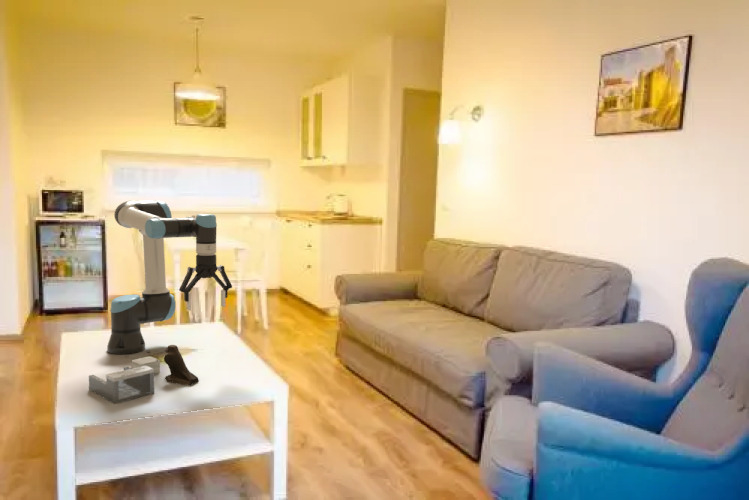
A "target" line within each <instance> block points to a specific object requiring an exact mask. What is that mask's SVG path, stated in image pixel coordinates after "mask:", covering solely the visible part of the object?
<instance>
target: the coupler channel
mask: <svg viewBox="0 0 749 500" xmlns="http://www.w3.org/2000/svg"><path fill="white" fill-rule="evenodd" d="M105 378H106V380H104V379H103V378H100V377H99V376H96V374H95V375H94V374H91V375H88V390H89V391H91V392H93V393H94V394H97V395H98V396H100V397H102V398H103V397H104V398H103V399H105V400H107V401H109V402H110V401H111V402H110V403H113V404H114V405H115V404H119V403H123V402H127V401H130V400H134V399H137V398H140V397H145V396H149V395H153V394H155V374H154V369H153V368H151V367H148V366H146V365H145V366H141V367H137V368H132V367H129V366H126V367H123V370H119V371H115V372H112V373H106V375H105Z"/></svg>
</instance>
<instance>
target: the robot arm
mask: <svg viewBox="0 0 749 500" xmlns="http://www.w3.org/2000/svg"><path fill="white" fill-rule="evenodd" d="M113 215H114V220H115V222H116V223H117V224H118V225H119V226H122V227H123V228H126V229H132V228H134V229H136V230H138V232H139V233H140V235H142V245H143V263H144V264H143V265H144V284H145V289H144V290H143V291H142V292H141V296H140V295H139V294H125V295H121V296H117V297H115V298H114V299H113V300H111V303H110V322H111V323H110V326H111V327H110V330H111V334H110V336H109V339H108V342H107V348H106V351H107V352H108V353H109V354H114V355H129V354H136V353H140V352H142V351H144V350H145V349H146V342H145V340H144V336H143V334H142V332H141V331H142V330H141V325H142V324H150V323H155V322H164V321H168V320H171V318H172V317H173V316H174V314H175V313H176V312H175V311H176V305H177V303H176V299H175V296H174V295H173V294H171V291H170V289H168V288H167V284H166V283H167V282H166V263H165V262H166V260H165V259H166V258H165V240H164V239H167V238H168V239H169V238H195V253H196V256H195V267H191V266H188V267H187V270H186V271H187V272H186V274H185V276H184V279H183V281H182V283H181V285H180V287H179V292H181V293H183V294H184V297H183V298H184V299H183V301H184V302H186V310H188V311H192V293H191V291H192V289H193V288H194V287H195V285H197V283H198V281H200V280H201V279H211V278H213V279H214V280H215V281H216V282H217V284H219V286H220V287H221V288H222V289H220V306H221V307H223V308H225V307H226V299H227V298H228V291H229V290H230V289H232V288H233V285H232V283H231V281H230V279H229V277H228V275H227V273H226V270H225V265H221V264H219V265H218V266H217V226H218V224H217V216H216V215H215V214H213V213H212V214H211V213H198V214H196V217H194V216H191V217H190V216H188V217H187V216H186V217H174V218H172V213H171V208H170V206H169V205H168V204H167V202H165V201H162V200H156V199H155V200H128V201H124V202H122V203H120V204H119V205H117V207H116V208H115V211H114V214H113ZM217 271H219V273H220V274H221V277H222V279H223V281H224V282H223V281H222V279H221V278H220V277H219V276H218V275H217V273H216V272H217ZM195 272H196V274H195V275H194V277H193V279H192V276H193V274H194V273H195ZM191 279H192V280H191ZM190 280H191V281H190Z"/></svg>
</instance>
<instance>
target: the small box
mask: <svg viewBox="0 0 749 500" xmlns="http://www.w3.org/2000/svg"><path fill="white" fill-rule="evenodd" d="M145 365H146V366H148V367H151V368H153V369H154V375H155V374H160V373H161V361H160V360H159V359H157V358H156V357H153V356H151V355H150V356H149V355H148V356H145V357H140V358H135V359H132V360H131V369H132V368H137V367H141V366H145Z"/></svg>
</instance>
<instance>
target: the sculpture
mask: <svg viewBox="0 0 749 500" xmlns="http://www.w3.org/2000/svg"><path fill="white" fill-rule="evenodd" d="M166 350H167V353H166V354H165V355H164V356H163V361H164V363H165V364H166V365H167V366H168V368H169V371H170V374H168V375H166V376H165V377H164V380H165V379H166V380H165V381H166V383H170V382H171V384H176V383H177V385H182V386H192V385H195V384H196V383H198V382H199V377H198V376H197V375H196V374H193V373H192V372H191V371H190V370H189V369H188V367H187V365H186V363H185V361H184V358H183V356H182V354H181V352H180V350H179V347H178V346H177V345H176V344H169V345H168V346H167V347H166Z"/></svg>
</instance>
